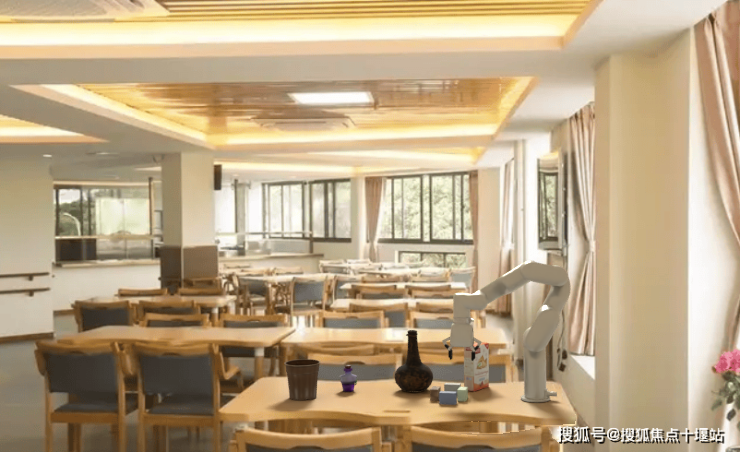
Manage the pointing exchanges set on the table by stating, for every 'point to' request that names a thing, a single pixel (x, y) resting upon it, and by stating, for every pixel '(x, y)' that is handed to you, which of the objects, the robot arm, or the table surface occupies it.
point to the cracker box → (476, 367)
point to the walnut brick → (435, 393)
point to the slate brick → (452, 387)
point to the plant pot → (302, 378)
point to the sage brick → (462, 393)
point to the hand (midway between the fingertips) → (461, 359)
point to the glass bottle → (413, 369)
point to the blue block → (448, 397)
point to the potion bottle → (348, 379)
